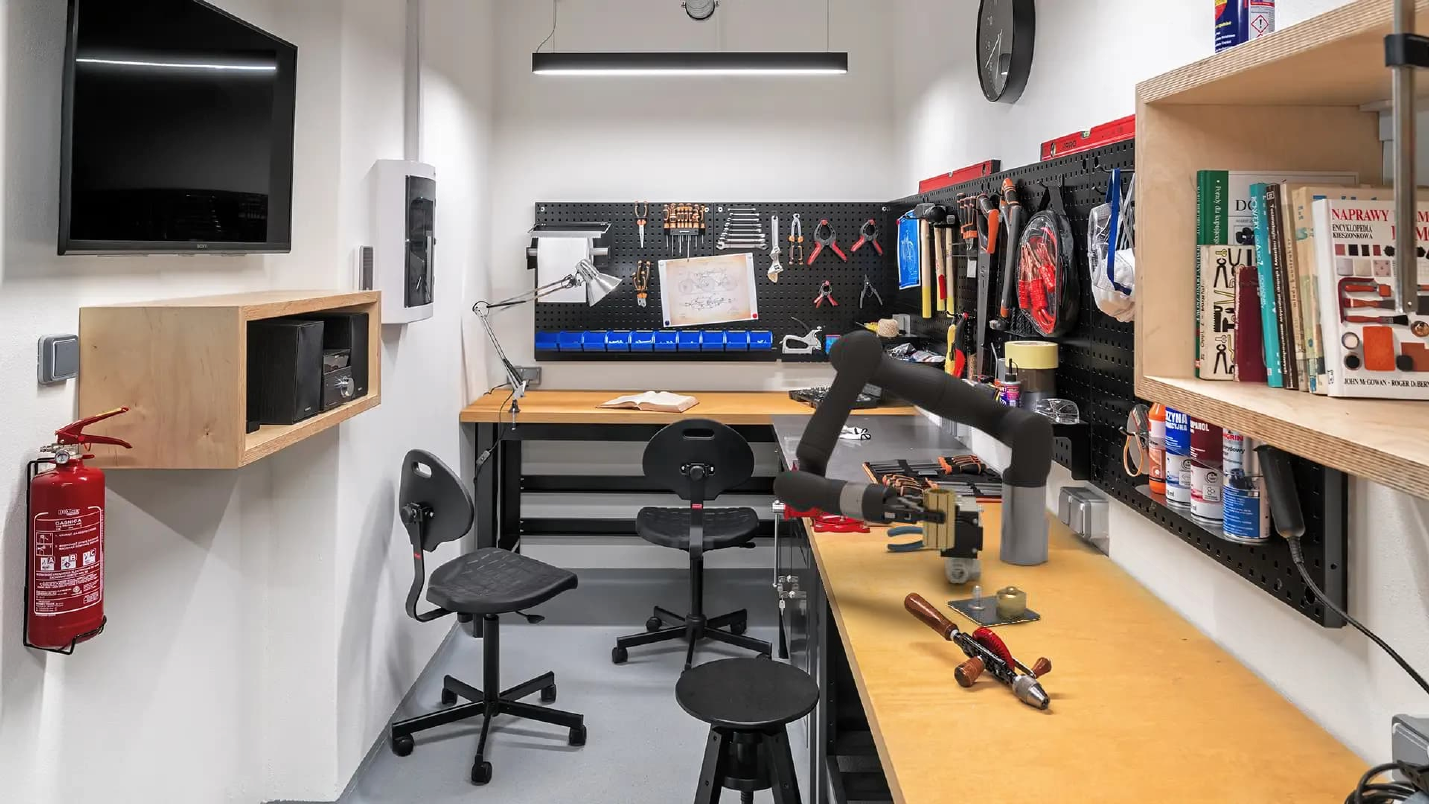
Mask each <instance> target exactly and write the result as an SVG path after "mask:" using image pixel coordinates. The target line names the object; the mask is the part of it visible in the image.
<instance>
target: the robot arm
mask: <svg viewBox="0 0 1429 804" xmlns="http://www.w3.org/2000/svg"><path fill="white" fill-rule="evenodd" d="M828 359H829V362H830V365H831V367H832V368H833V369H834V371H836V375H835V377H834V380H833V381H832V383H831V386H830V387H829V390H828V391H827V393H826V394H825V396H824V397H823V399H822V400H821V402H820V404H819V405H818V406H817V408H816V409H815V411H814V412H813V414H812V416H811V417H810V418H809V421H808V422H807V424H806V427H805V429H804V431H803V433H802V436H801V438H800V439H799V440H800V441H799V442H798V445H797V447H796V451H795V456H796V459H797V460H798V464H799V466H798V469H788V470H785V471H783V472H781V473H779V474H778V475H777V476H776V477H775V479H774V480H773V485H772V488H773V493H774V495H775V497H776V498H777V499H778V500H779V502H781V503H782V504H784V505H785V506H787V507H789V508H790V509H792V510H793V511H795V512H798V513H807V512H809V511H812V509H814V508H815V509H817V510H819V511H820V512H822V513H826V514H829V515H834V516H838V517H845V518H850V519H852V520H855V521H862V522H866V523H867V522H868V523H873V524H878V525H879V524H880V525H885V526H886V525H887V526H888V525H890V524H892V523H897V524H898V523H899V524H907V525H912V526H914V525H917V524H918V523H920V524H923V523H924V522H930V523H936V524H944V523H946V513H945V512H943V511H936V510H929V509H926V510H925V509H924V508H923V494H922V493H914V496H913V495H910V494H904V495H903V496H900V494H899V492H898V489H897V488H896V487H895V486H894V485H890V484H884V483H876V482H869V481H861V480H860V481H859V480H858V481H857V480H856V481H853V480H845V479H836V478H828V477H826V476H827V475H826V474H827V467H828V463H829V461H830V459H831V457H832V455H833V453H834V450H835V448H836V446H837V443H838V441H839V438H840V436H841V433H842V431H843V429H844V427H845V425H846V422H847V421H848V419H849V416H850V414H851V412H852V411H853V409H854V406H855V405H856V403H857V401H858V399H859V397H860V396H861V394H862V392H863V391H864V388H865V387H866V385H869V386H873V387H877V388H879V389H882V390H884V391H886V392H887V393H890V394H892V395H893V396H895V397H897V398H899V399H901V400H904V401H906V402H907V403H909V404H912V405H914V406H916V407H918V408H920V409H922V410H924V411H925V412H928V413H931V414H933V415H935V416H937V417H939V418H943V419H946V420H947V421H950V422H954V423H956V424H960V425H965V426H968V427H971V428H974V429H977V430H978V431H981V432H982V433H985V434H986V435H988V436H990V437H991V438H993V439H994V440H996V441H998V442H1000V443H1001V444H1002V445H1004V446H1006V447H1007V448H1009V449H1011V455H1010V464H1009V466H1007V467H1005V468H1004V469H1003V471H1002V483H1001V487H1002V488H1001V510H1000V511H1001V514H1000V515H1001V517H1000V543H999V545H1000V547H999V558H1000V560H1001V561H1003V562H1005V563H1008V564H1013V565H1018V566H1036V565H1040V564H1042V563H1044V562H1048V558H1049V534H1050V519H1049V518H1048V517H1046V512H1047V509H1046V508H1047V506H1046V505H1047V485H1048V484H1047V482H1048V477H1049V475H1050V472H1051V469H1052V461H1053V450H1054V430H1053V429H1054V428H1053V425H1052V423H1051V421H1050V419H1049V418H1048V417H1046V416H1045V415H1043V414H1042V413H1038V412H1035V411H1032V410H1028V409H1025V408H1020V407H1017V406H1013V405H1010V404H1006V403H1004V402H1001V401H998V400H996V399H993V398H991V397H988V396H987V395H986V394H984V393H982V392H981V391H980V390H978V389H977V388H975V386H973V385H972V384H970V383H968V382H966V381H965V380H963V379H962V378H959V377H958V376H955V375H953V374H951V373H949V372H947V371H945V370H942V369H940V368H937V367H933V366H930V365H927V364H923V363H917V362H912V361H907V360H902V359H899V358H896V357H893V356H891V355H889V354H887V353H884V348H883V344H882V340H880V338H879V336H877V335H876V334H875V333H873V332H872V331H869V330H865V329H864V330H863V329H861V330H854V331H852V332H848V333H847V334H844V335H842V336H840V337H838V338H837V339H836V340H834V342H833V343H832V344H831V345H830V347H829V351H828ZM959 515H960V506H959V505H957V504H955V517H958V516H959Z"/></svg>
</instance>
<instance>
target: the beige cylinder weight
mask: <svg viewBox="0 0 1429 804" xmlns="http://www.w3.org/2000/svg"><path fill="white" fill-rule="evenodd" d="M996 595H997V598H996V614H997V615H998V616H999V617H1002V618H1005V619H1012V620H1018V619H1023V618H1025V617H1026V608H1027V593H1026V592H1025V591H1023V590H1019V589H1018V587H1016V586H1010V585H1009V586H1005V588H1001V589H998V590H997V591H996Z"/></svg>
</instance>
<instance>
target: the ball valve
mask: <svg viewBox="0 0 1429 804" xmlns="http://www.w3.org/2000/svg"><path fill="white" fill-rule="evenodd" d="M955 504H957V505H959V506H960V515H959V516H958V517H955V543H954V547H952V548H948V549H947V548H946V549H939V554H940V555H939V556H940V557H941V558H946V559H945V562H944V565H945V566H944V567H945V574H946V578H947V579H948V581H950V582H951V583H953V584H955V583H961V584H964V583H965V582H966V581H974V579H975V580H977V579H978V580H980V579H981V576H982V575H981V573H982V571H981V570H982V567H981V565H982V563H981V559H978V553H979V552H983V551H984V549H983V547H984V525H983V521H982V516H981V513H984V512H985V506H984V504H983V503H977V499H976V496H971V495H970V496H969V495H968V496H966V495H965V496H964V495H962V494H956V497H955Z"/></svg>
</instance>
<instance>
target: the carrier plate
mask: <svg viewBox="0 0 1429 804" xmlns="http://www.w3.org/2000/svg"><path fill="white" fill-rule="evenodd" d="M972 595H973V596H972V598H965V599H957V600H950V601H947V604H948V605H950V606H953V607H954V608H955V609H958V610H959V611H960V612H963V613H964V614H965V615H967V616H968V617H970V618H972V619H973V620H975V621H976V622H978V623H981V625H982V626H988V625H995V624H1001V623H1012V622H1017V621H1021V620H1033V619H1039V618H1040V619H1041V617H1042V616H1041V615H1040V614H1039V613H1037V612H1035V611H1034V610H1032V609H1029V608H1027V607H1026V617H1025V618H1023V619H1018V620H1012V619H1005V618H1002V617H999V616H998V615H997V614H996V598H997V594H996V595H988V596H982V587H981V586H980V585H974V586H973V593H972ZM982 626H981V627H982Z"/></svg>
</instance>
